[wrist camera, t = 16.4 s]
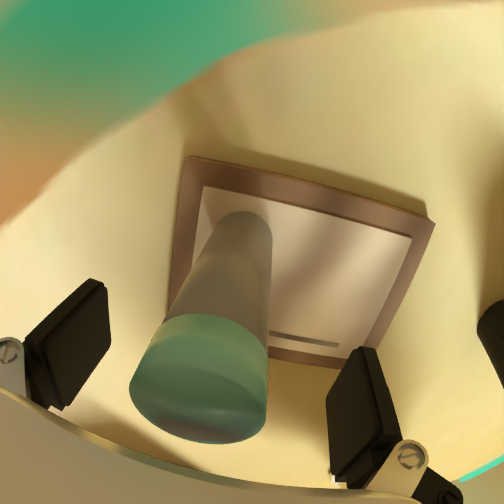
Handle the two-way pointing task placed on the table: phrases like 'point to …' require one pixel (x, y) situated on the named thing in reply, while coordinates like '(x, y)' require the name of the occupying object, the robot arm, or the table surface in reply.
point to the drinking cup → (494, 336)
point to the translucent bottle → (214, 341)
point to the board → (308, 255)
